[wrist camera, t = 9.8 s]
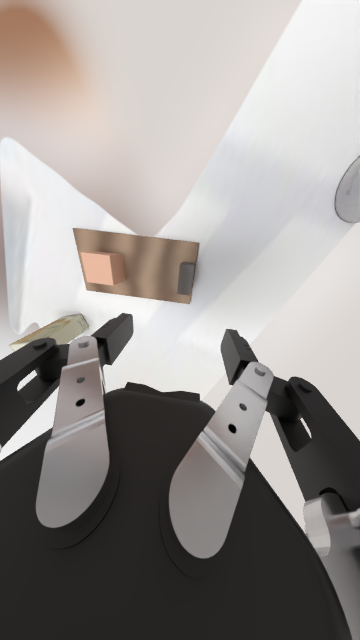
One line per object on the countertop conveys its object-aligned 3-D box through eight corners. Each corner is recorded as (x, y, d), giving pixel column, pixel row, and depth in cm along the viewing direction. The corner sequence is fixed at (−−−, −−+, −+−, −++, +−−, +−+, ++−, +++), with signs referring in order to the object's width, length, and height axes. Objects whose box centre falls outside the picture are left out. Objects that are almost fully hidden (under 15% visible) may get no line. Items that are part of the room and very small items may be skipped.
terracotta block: (123, 254, 27) (109, 255, 22) (125, 280, 29) (113, 285, 25) (99, 251, 27) (80, 252, 23) (103, 277, 29) (87, 282, 25)
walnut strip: (198, 243, 25) (199, 241, 20) (189, 302, 31) (188, 313, 26) (75, 228, 26) (47, 223, 21) (89, 289, 32) (68, 297, 27)
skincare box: (81, 313, 35) (32, 341, 25) (89, 327, 37) (47, 359, 26) (61, 316, 36) (5, 345, 26) (70, 330, 38) (22, 362, 28)
